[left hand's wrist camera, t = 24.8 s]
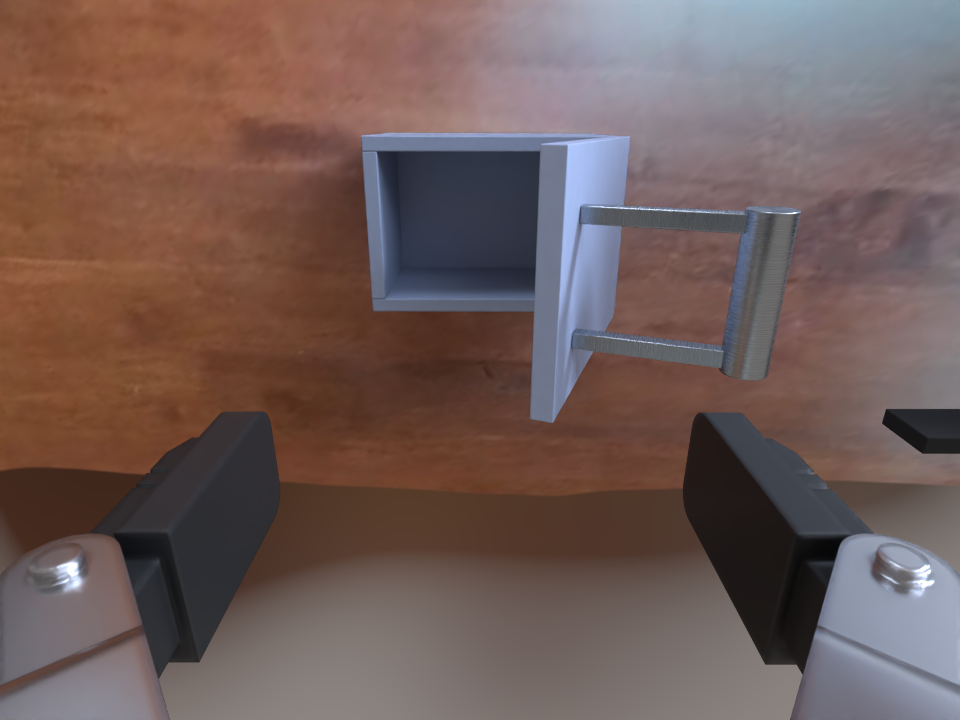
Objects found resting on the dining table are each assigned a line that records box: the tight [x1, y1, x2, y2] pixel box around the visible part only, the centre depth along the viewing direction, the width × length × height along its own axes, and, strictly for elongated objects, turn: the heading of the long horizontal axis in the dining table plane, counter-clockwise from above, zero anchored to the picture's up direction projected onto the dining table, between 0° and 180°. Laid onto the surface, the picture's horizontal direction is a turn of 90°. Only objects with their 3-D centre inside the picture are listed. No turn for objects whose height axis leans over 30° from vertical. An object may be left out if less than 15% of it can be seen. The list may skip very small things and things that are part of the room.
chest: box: [361, 133, 612, 312], centre depth 39 cm, size 14×10×9 cm
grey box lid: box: [530, 136, 801, 423], centre depth 26 cm, size 15×10×8 cm
